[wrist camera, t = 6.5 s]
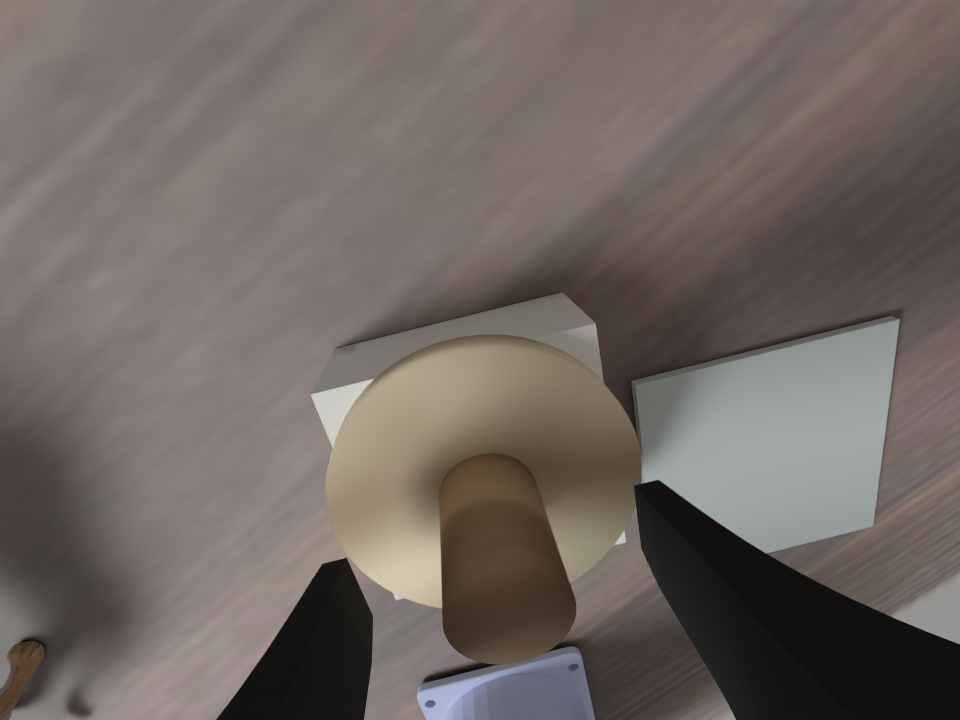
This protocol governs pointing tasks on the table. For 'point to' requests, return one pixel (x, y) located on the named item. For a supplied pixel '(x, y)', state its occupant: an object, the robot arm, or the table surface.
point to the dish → (530, 319)
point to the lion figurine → (19, 674)
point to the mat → (775, 434)
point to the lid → (485, 487)
